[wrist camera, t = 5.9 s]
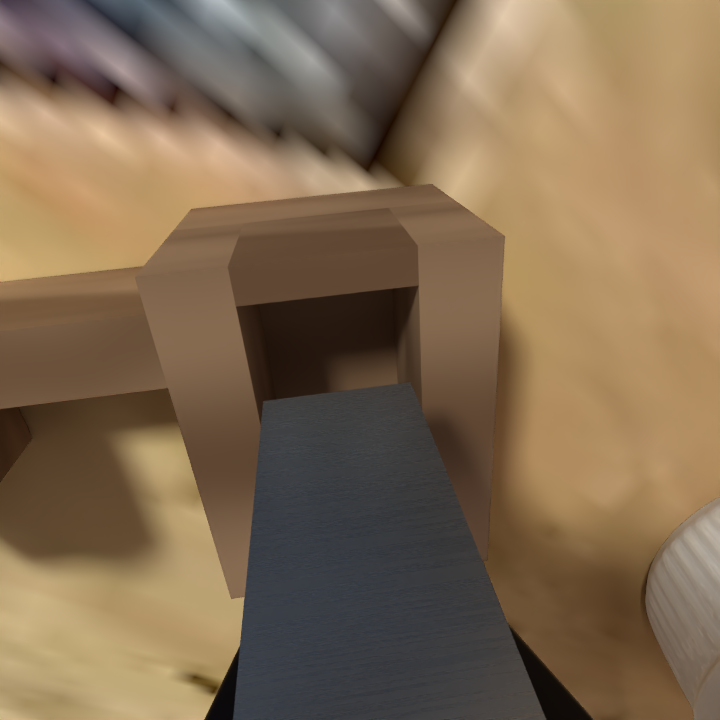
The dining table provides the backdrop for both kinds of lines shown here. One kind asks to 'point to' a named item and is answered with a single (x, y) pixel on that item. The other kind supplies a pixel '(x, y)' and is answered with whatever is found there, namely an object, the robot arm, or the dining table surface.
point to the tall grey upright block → (367, 574)
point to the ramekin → (690, 607)
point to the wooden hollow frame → (276, 335)
